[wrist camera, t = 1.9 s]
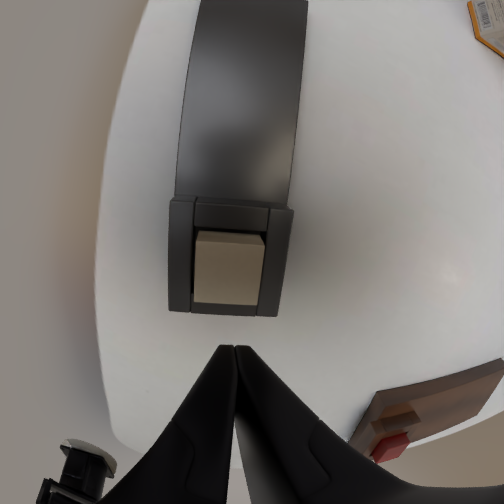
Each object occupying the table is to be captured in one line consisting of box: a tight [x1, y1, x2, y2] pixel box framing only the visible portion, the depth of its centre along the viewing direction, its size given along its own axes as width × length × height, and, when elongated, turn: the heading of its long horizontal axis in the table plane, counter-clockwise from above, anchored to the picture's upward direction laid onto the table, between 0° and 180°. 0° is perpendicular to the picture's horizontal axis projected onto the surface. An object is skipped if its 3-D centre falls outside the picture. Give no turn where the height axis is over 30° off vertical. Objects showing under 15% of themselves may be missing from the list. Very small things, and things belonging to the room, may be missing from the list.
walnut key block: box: [348, 358, 504, 460], centre depth 25 cm, size 10×25×4 cm, turn 84°
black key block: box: [168, 0, 308, 317], centre depth 14 cm, size 18×6×4 cm, turn 174°
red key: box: [371, 432, 410, 464], centre depth 22 cm, size 3×3×2 cm
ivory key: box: [194, 231, 265, 305], centre depth 14 cm, size 3×3×2 cm
